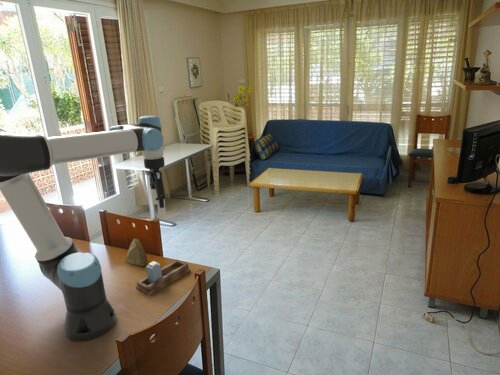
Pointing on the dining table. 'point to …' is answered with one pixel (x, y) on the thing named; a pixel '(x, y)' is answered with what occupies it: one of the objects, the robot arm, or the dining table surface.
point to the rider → (154, 272)
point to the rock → (136, 254)
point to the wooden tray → (164, 277)
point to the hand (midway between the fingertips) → (159, 209)
